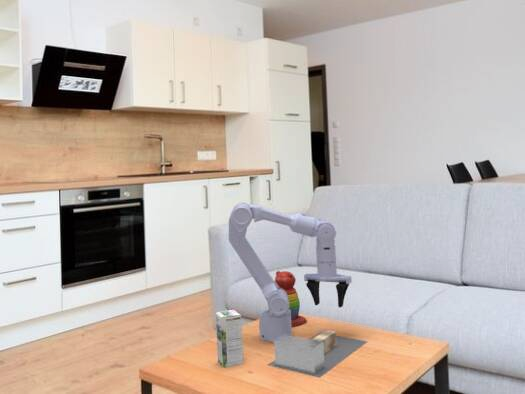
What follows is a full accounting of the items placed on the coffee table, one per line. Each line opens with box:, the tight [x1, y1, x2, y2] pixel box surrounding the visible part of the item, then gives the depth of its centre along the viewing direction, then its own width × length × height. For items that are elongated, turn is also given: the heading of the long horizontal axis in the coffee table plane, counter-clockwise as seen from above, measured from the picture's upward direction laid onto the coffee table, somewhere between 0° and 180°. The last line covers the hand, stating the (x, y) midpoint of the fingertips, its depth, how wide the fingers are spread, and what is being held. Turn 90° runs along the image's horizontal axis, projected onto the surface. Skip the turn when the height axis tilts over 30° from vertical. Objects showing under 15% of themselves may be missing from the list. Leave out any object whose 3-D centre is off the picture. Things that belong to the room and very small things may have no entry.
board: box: [267, 332, 368, 378], centre depth 140 cm, size 16×28×1 cm, turn 144°
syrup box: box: [215, 309, 244, 369], centre depth 137 cm, size 6×6×14 cm
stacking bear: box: [274, 270, 308, 328], centre depth 170 cm, size 11×10×18 cm
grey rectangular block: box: [273, 335, 325, 374], centre depth 131 cm, size 12×5×7 cm, turn 54°
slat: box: [310, 329, 337, 354], centre depth 138 cm, size 18×3×4 cm, turn 144°
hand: (328, 305), depth 152 cm, fingers open, 7 cm apart
